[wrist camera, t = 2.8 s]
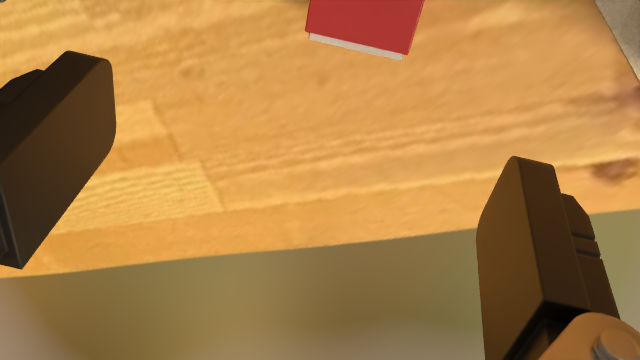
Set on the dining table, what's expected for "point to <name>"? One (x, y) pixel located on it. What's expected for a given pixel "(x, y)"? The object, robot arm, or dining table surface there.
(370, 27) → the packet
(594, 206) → the dining table surface
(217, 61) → the dining table surface
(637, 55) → the condiment
